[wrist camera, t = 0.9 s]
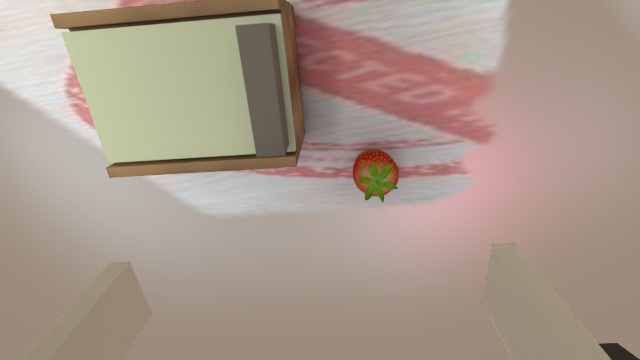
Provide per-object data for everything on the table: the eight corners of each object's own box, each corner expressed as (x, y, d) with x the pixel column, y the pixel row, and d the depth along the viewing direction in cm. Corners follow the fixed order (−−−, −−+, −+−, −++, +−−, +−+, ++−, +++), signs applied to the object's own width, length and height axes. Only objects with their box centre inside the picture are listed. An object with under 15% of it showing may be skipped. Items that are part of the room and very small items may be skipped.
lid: (68, 32, 27) (30, 32, 24) (281, 14, 26) (273, 10, 23) (113, 160, 32) (86, 175, 29) (296, 148, 31) (291, 163, 27)
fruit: (400, 158, 41) (415, 184, 34) (372, 186, 43) (380, 217, 36) (368, 131, 40) (377, 153, 33) (341, 162, 42) (343, 189, 34)
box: (128, 20, 36) (50, 14, 26) (292, 5, 35) (276, -7, 25) (163, 142, 41) (109, 177, 31) (304, 133, 40) (296, 166, 30)
